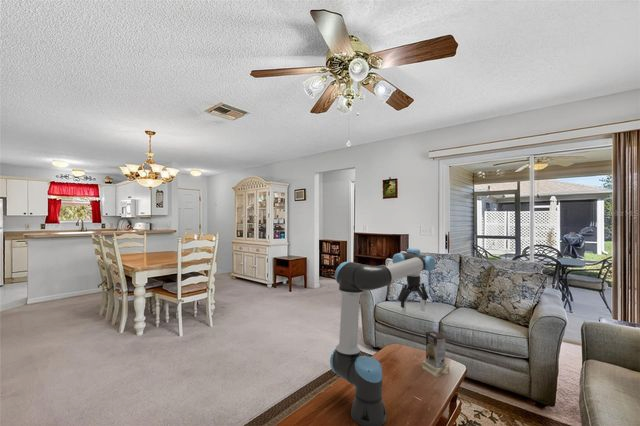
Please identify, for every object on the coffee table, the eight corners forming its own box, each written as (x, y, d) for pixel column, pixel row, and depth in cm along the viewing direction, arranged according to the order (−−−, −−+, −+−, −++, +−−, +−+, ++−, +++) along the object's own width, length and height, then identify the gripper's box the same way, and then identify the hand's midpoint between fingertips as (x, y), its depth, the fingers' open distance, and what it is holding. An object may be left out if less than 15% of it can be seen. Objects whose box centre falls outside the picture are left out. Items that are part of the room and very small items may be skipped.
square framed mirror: (435, 376, 158) (435, 368, 159) (422, 368, 168) (422, 360, 168) (449, 373, 162) (449, 365, 163) (435, 364, 172) (435, 357, 172)
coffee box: (425, 360, 168) (425, 331, 169) (434, 358, 170) (434, 330, 171) (436, 367, 160) (436, 338, 160) (445, 365, 162) (445, 336, 162)
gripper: (399, 277, 162) (399, 316, 161) (434, 275, 171) (434, 311, 171) (391, 275, 169) (391, 312, 168) (425, 272, 178) (425, 308, 178)
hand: (413, 312), depth 169 cm, fingers open, 13 cm apart
